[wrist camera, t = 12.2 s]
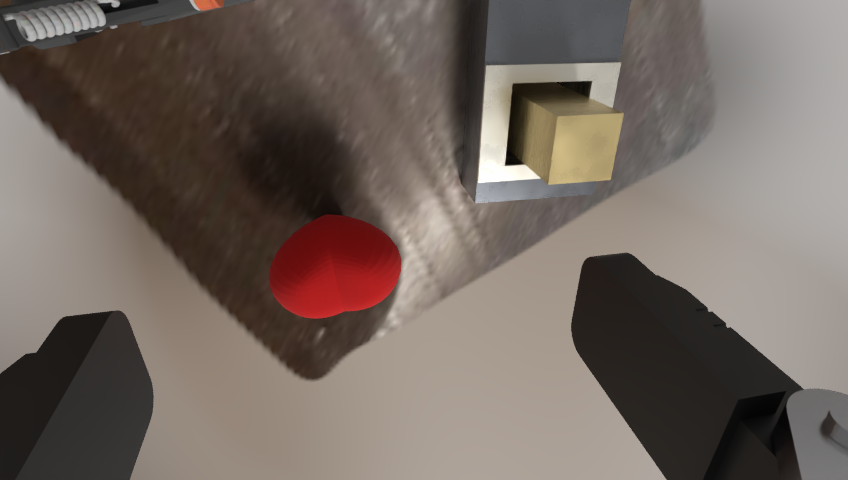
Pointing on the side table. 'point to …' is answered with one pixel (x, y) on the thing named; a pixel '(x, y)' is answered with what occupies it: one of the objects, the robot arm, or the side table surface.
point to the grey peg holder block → (532, 81)
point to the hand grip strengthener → (86, 18)
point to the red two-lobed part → (334, 267)
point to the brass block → (562, 133)
